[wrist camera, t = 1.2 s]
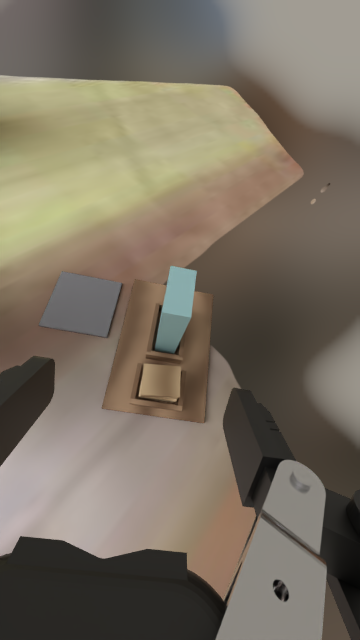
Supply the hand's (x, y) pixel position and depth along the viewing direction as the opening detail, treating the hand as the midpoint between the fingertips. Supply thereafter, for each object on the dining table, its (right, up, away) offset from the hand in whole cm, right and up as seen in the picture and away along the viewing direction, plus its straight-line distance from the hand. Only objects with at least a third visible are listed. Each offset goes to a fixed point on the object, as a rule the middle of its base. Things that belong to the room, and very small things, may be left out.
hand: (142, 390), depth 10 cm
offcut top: (-1, -5, +21) cm, 21 cm away
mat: (-14, +6, +27) cm, 31 cm away
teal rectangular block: (0, +1, +26) cm, 26 cm away
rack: (-1, -1, +26) cm, 26 cm away
